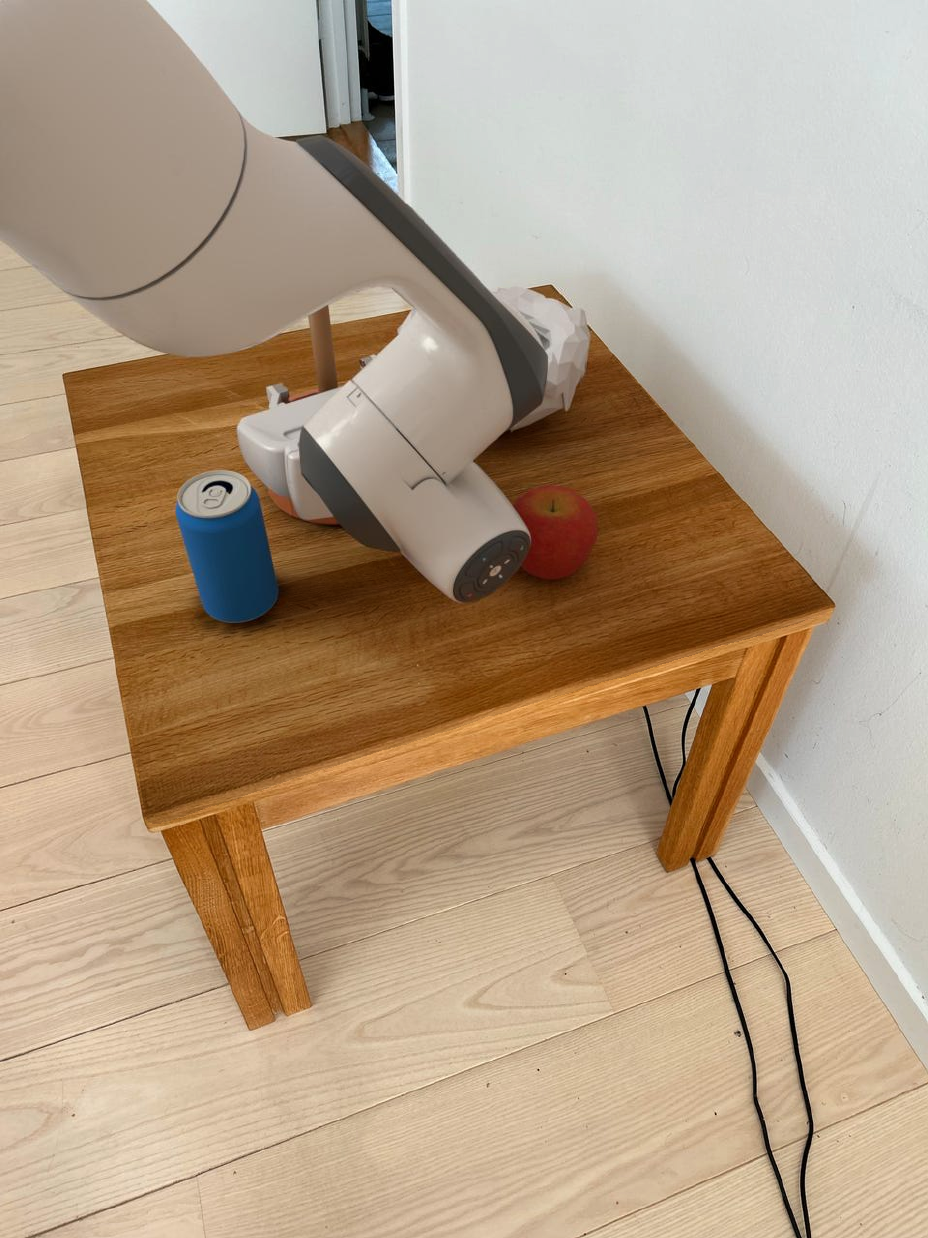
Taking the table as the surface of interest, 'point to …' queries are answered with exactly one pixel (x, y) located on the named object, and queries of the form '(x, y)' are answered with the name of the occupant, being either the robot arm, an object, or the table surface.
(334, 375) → the plunger
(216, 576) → the beverage can
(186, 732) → the table surface
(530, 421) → the bowl
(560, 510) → the apple
